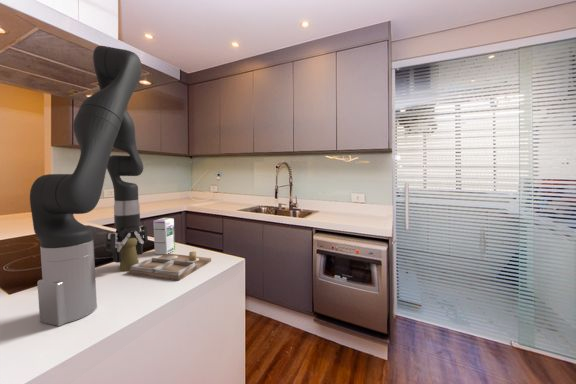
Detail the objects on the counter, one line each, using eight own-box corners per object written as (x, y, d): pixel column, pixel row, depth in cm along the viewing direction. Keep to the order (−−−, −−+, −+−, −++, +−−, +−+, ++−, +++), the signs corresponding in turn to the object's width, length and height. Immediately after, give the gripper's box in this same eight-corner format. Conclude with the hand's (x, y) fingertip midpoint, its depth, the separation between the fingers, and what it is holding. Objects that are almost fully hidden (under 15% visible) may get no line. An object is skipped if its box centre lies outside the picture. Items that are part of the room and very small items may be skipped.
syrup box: (166, 254, 100) (165, 220, 99) (154, 254, 101) (152, 219, 100) (175, 250, 106) (174, 218, 105) (163, 250, 107) (162, 217, 106)
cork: (135, 263, 90) (134, 234, 89) (142, 267, 86) (140, 237, 86) (116, 268, 85) (115, 237, 85) (122, 272, 82) (121, 241, 81)
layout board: (178, 280, 76) (178, 267, 76) (128, 273, 81) (127, 261, 81) (211, 261, 93) (210, 250, 93) (167, 256, 98) (167, 246, 98)
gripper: (116, 216, 77) (118, 266, 78) (152, 210, 90) (153, 252, 92) (98, 215, 79) (100, 264, 80) (136, 209, 92) (137, 251, 94)
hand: (129, 258), depth 86 cm, fingers open, 8 cm apart
